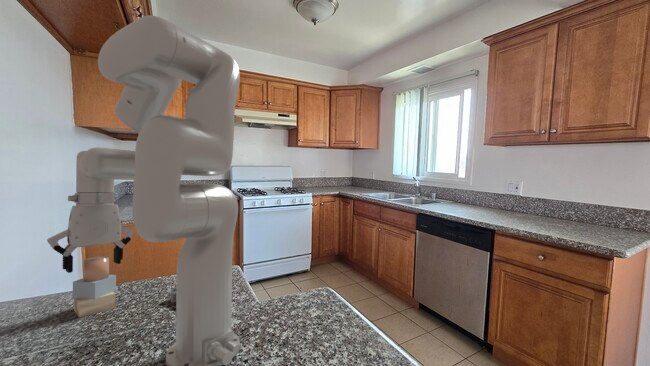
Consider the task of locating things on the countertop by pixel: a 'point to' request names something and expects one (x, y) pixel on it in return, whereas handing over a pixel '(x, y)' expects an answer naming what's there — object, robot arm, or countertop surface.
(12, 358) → the countertop surface
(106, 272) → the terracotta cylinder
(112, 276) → the tower top block
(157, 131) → the robot arm
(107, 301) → the tower base block
